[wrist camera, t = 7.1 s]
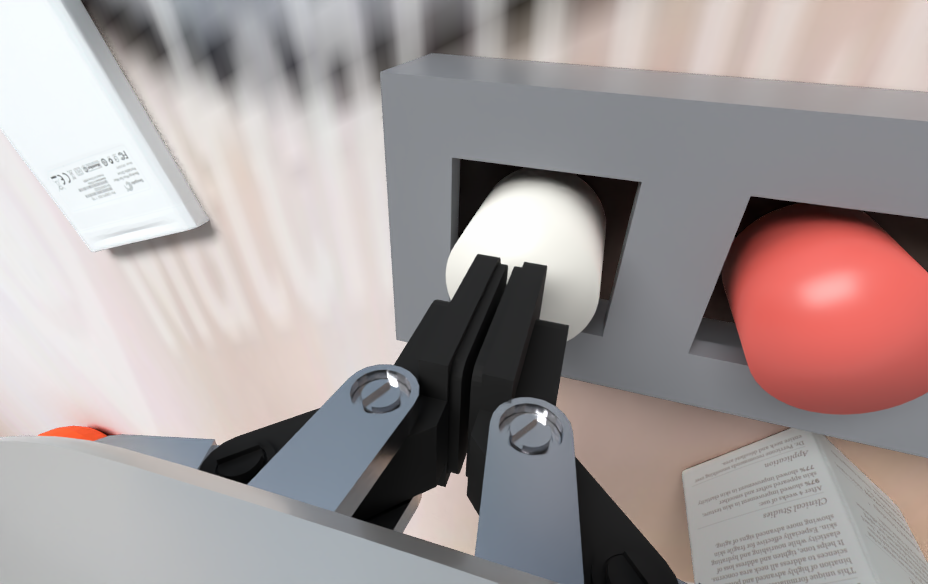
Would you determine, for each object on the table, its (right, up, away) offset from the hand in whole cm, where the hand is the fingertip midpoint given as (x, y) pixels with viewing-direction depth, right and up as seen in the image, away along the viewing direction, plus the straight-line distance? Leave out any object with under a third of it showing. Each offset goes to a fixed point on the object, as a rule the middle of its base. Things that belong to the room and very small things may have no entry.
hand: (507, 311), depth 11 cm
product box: (+13, -8, +10) cm, 18 cm away
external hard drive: (-18, +9, +10) cm, 23 cm away
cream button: (+1, +3, +4) cm, 5 cm away
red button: (+9, +1, +2) cm, 9 cm away
